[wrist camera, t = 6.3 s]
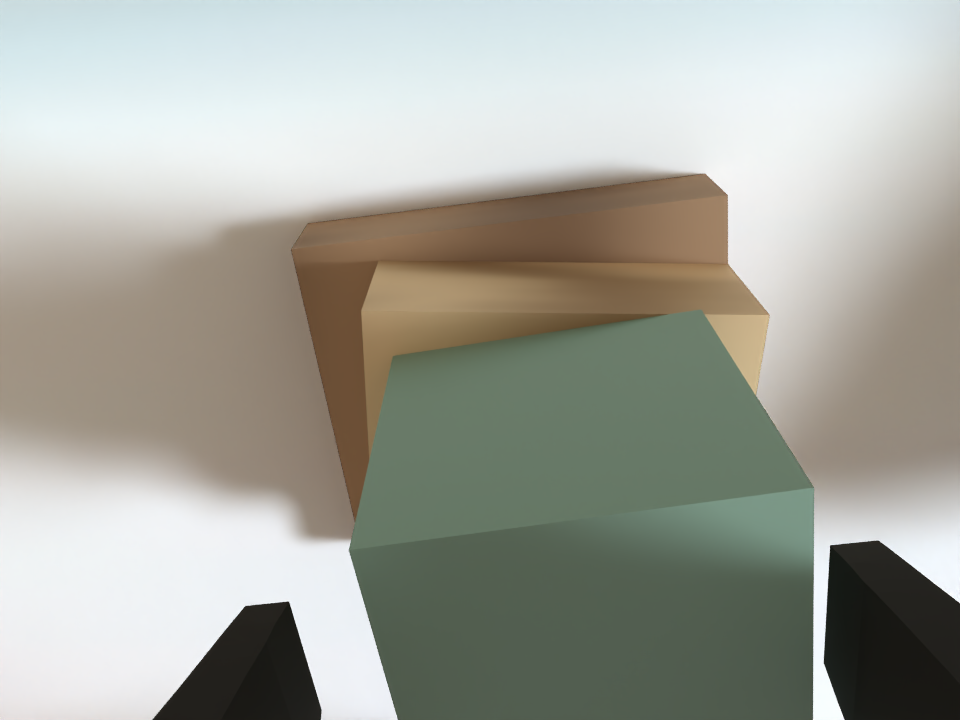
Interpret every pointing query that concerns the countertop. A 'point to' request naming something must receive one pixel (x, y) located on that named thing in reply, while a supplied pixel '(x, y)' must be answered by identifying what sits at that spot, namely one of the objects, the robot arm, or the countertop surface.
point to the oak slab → (542, 307)
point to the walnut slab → (486, 238)
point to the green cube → (586, 532)
